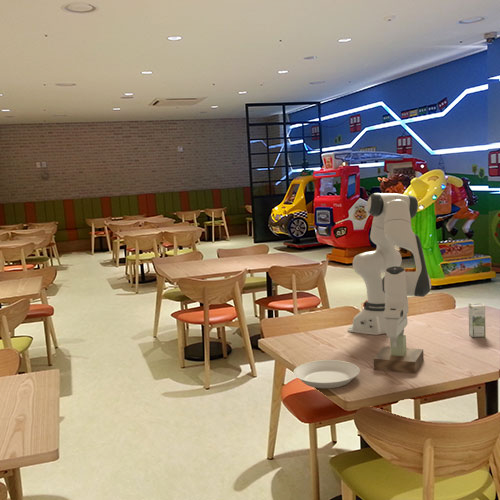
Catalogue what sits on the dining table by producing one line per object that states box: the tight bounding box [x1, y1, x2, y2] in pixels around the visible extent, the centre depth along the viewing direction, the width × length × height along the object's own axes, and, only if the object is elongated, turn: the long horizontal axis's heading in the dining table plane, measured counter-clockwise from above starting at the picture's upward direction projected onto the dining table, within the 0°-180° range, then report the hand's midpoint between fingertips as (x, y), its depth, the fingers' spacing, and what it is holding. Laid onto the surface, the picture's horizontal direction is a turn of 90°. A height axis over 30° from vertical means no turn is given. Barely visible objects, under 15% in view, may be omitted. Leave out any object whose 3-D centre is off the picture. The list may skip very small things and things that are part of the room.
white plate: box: [292, 359, 361, 389], centre depth 219 cm, size 25×25×4 cm
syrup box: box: [468, 302, 487, 338], centre depth 258 cm, size 6×6×14 cm
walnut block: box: [372, 346, 425, 374], centre depth 229 cm, size 16×16×5 cm
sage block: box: [389, 334, 407, 356], centre depth 228 cm, size 5×5×7 cm
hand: (398, 342), depth 228 cm, fingers open, 8 cm apart
